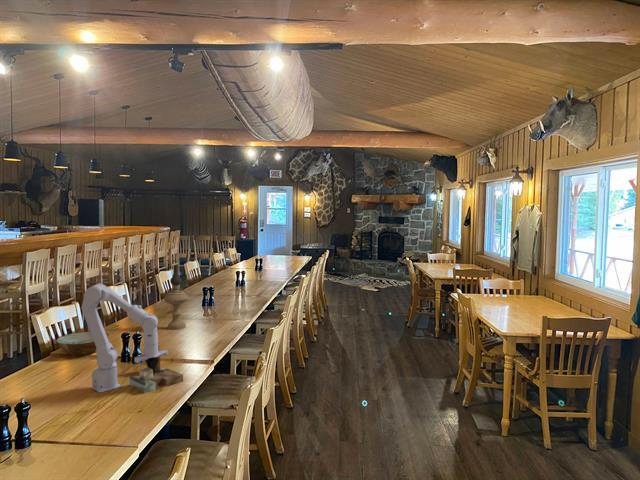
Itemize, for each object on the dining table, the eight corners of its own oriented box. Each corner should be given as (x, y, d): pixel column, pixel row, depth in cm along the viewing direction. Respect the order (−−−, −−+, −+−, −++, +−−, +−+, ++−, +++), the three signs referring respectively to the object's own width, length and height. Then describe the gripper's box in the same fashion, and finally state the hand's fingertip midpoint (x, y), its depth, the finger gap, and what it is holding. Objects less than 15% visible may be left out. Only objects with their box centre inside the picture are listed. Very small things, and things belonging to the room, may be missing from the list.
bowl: (88, 361, 239) (88, 345, 239) (44, 357, 244) (44, 342, 244) (119, 347, 264) (118, 332, 263) (79, 344, 269) (78, 330, 268)
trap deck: (144, 393, 197) (144, 383, 197) (129, 385, 206) (129, 375, 206) (183, 381, 211) (182, 372, 211) (167, 374, 220) (167, 365, 219)
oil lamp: (184, 330, 299) (183, 266, 297) (160, 330, 300) (159, 266, 297) (191, 324, 314) (190, 264, 312) (169, 324, 315) (168, 264, 312)
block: (145, 381, 202) (143, 372, 202) (140, 379, 205) (139, 370, 204) (153, 378, 205) (152, 369, 205) (148, 375, 208) (147, 367, 207)
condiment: (148, 368, 228) (147, 344, 227) (166, 368, 228) (166, 343, 228) (144, 374, 220) (143, 348, 220) (163, 373, 221) (162, 348, 220)
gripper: (139, 349, 198) (141, 381, 199) (171, 341, 208) (172, 372, 209) (131, 346, 202) (132, 377, 203) (162, 339, 213) (163, 368, 214)
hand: (152, 374), depth 207 cm, fingers closed, pressing on block
